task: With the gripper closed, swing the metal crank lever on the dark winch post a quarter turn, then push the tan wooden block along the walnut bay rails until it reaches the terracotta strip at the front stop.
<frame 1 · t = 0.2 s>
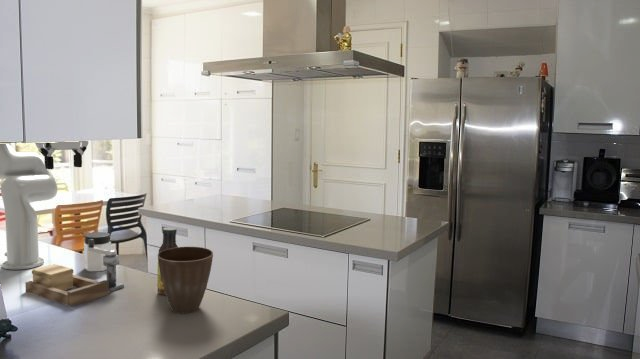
hand: (64, 168, 157), 36 cm above the kitchen counter, tool pointing down, fingers open, 9 cm apart
plant pot: (185, 309, 138), on the kitchen counter
jar: (98, 268, 173), on the kitchen counter
crank: (101, 247, 154), point 12 cm above the kitchen counter, hinge at 0.0°
winch post: (111, 288, 153), on the kitchen counter
sauce bottle: (168, 292, 151), on the kitchen counter
bay: (65, 292, 148), on the kitchen counter
tan wooden block: (53, 278, 151), point 3 cm above the kitchen counter, slide at 0.0 cm
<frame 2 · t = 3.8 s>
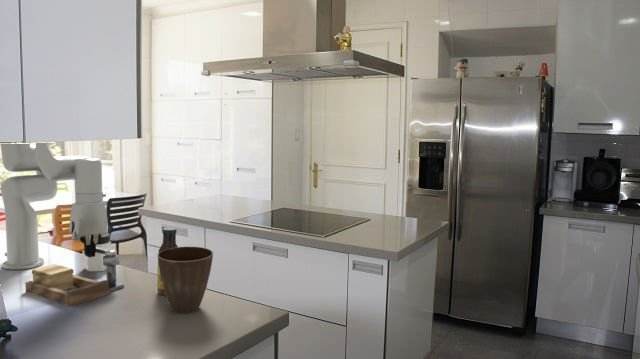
hand: (90, 256, 153), 10 cm above the kitchen counter, tool pointing down, fingers closed
crank: (102, 247, 154), point 12 cm above the kitchen counter, hinge at 1.4°, touching gripper
everything else where it was.
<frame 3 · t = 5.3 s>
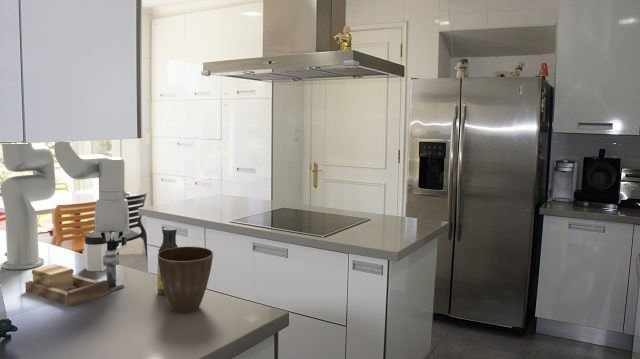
hand: (112, 252, 158), 10 cm above the kitchen counter, tool pointing down, fingers closed
crank: (117, 246, 156), point 12 cm above the kitchen counter, hinge at 63.5°, touching gripper
everything else where it was.
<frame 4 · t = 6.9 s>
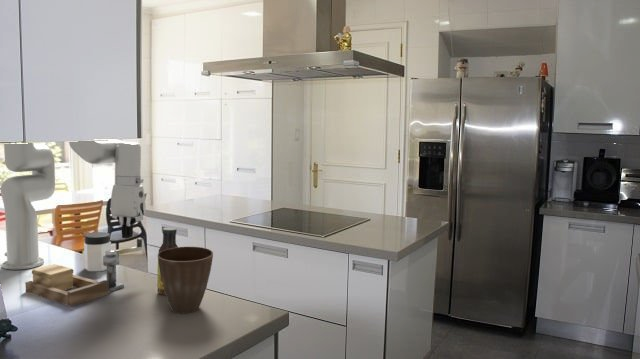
hand: (127, 237, 158), 15 cm above the kitchen counter, tool pointing down, fingers closed
crank: (124, 247, 155), point 12 cm above the kitchen counter, hinge at 104.1°
everything else where it was.
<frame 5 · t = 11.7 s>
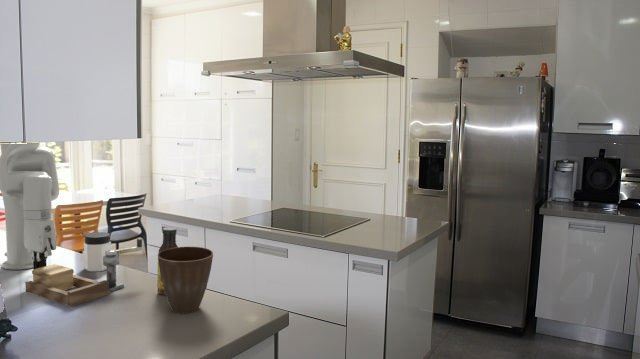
hand: (40, 272, 154), 4 cm above the kitchen counter, tool pointing down, fingers closed
tan wooden block: (53, 278, 151), point 3 cm above the kitchen counter, slide at 0.1 cm, touching gripper
everything else where it was.
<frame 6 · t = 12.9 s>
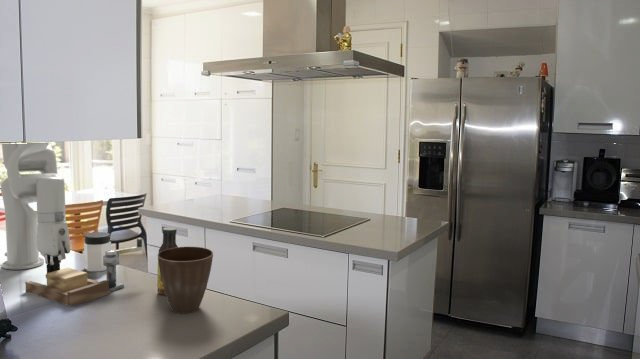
hand: (53, 276, 150), 4 cm above the kitchen counter, tool pointing down, fingers closed
tan wooden block: (67, 282, 147), point 3 cm above the kitchen counter, slide at 6.9 cm, touching gripper
everything else where it was.
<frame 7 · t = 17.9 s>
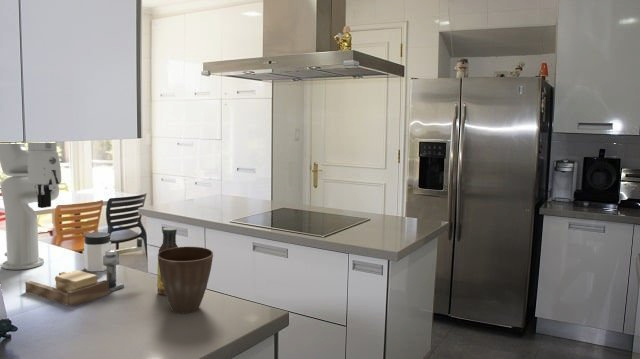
hand: (44, 207, 150), 25 cm above the kitchen counter, tool pointing down, fingers closed
tan wooden block: (76, 285, 145), point 3 cm above the kitchen counter, slide at 11.4 cm, touching bay
everything else where it was.
at the end: tan wooden block slide at 11.4 cm; crank at +104° (first picture: +0°) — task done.
